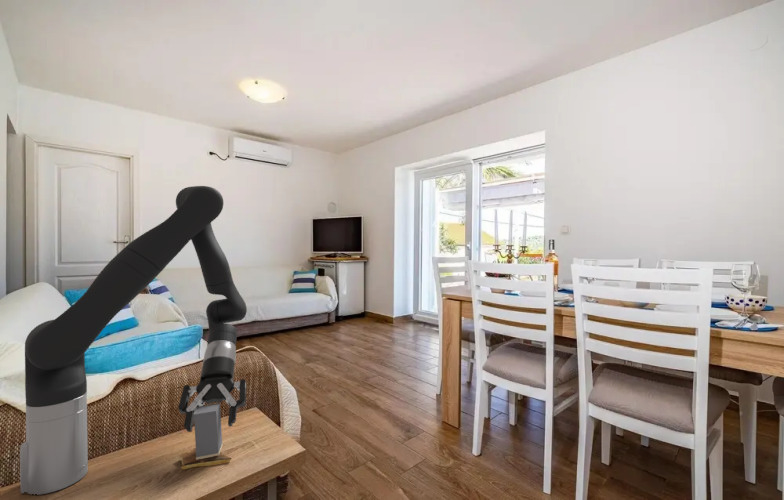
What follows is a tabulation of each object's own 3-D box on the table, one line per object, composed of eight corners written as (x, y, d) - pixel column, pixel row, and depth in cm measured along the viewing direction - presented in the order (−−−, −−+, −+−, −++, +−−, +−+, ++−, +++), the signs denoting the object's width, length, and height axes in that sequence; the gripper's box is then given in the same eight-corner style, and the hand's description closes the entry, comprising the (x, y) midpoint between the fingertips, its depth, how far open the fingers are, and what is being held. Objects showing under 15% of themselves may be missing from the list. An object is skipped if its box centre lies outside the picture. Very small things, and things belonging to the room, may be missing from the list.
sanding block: (196, 459, 78) (193, 414, 78) (201, 449, 82) (198, 406, 82) (218, 455, 79) (216, 410, 79) (222, 444, 83) (220, 402, 84)
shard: (231, 465, 79) (231, 456, 79) (196, 483, 72) (196, 475, 72) (207, 449, 85) (206, 442, 85) (172, 466, 79) (172, 458, 79)
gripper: (185, 357, 87) (170, 426, 75) (247, 352, 90) (241, 417, 79) (191, 372, 92) (178, 438, 80) (250, 366, 96) (245, 429, 84)
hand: (209, 427), depth 80 cm, fingers open, 8 cm apart
